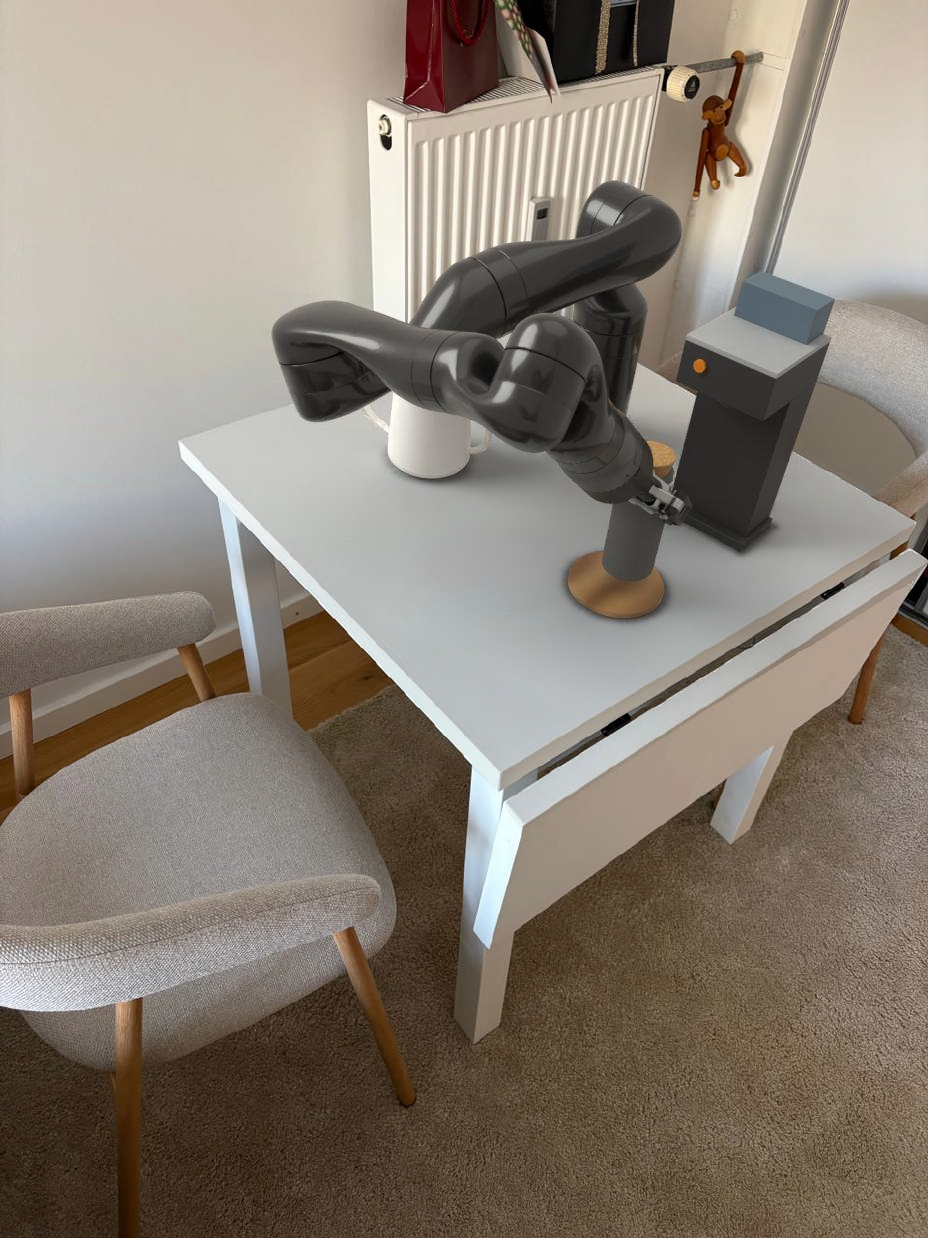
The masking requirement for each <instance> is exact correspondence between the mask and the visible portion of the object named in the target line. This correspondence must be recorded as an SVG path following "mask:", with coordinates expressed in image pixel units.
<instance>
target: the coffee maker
mask: <svg viewBox="0 0 928 1238" xmlns="http://www.w3.org/2000/svg"><path fill="white" fill-rule="evenodd" d="M739 290H740V291H739V294H738V298H737V303H736V305H735V306H734V307H733V308H731V309H729V310H727V311H726V312H725V311H724V313H722V314H719V316H717V317H715V318H712V319H711V320H710V321H708V322H706V323H705V324H702V325H701V326H698V327H697V328H695V329H694V330H692V331H690V332H689V333H687V334H686V337H685V340H684V345H683V349H682V354H681V357H680V362H679V366H678V371H677V374H676V378H675V382H676V383H679V384H680V385H683V386H685V387H688V388H689V389H692V390H694V391H696V395H695V399H694V404H693V406H692V411H691V415H690V419H689V423H688V427H687V431H686V435H685V438H684V442H683V446H682V449H681V454H680V458H679V462H678V466H677V470H676V473H675V477H674V480H673V481H674V482H673V485H672V488H671V490H672V493H673V491H674V490H676V491H677V490H680V491H681V490H682V491H684V492H686V493H685V494H687V495H688V497H689V499H690V501H691V504H692V508H691V510H689V512H688V513H687V515H686V517H685V518H684V520H683V521H682V522H684V523H686V524H687V525H690V526H691V527H693V528H695V529H697V530H698V531H700V532H703V533H705V534H706V535H708V536H710V537H712V538H714V539H716V540H717V541H719V542H721V543H723V544H725V545H727V546H728V547H731V548H732V549H734V550H736V551H737V552H742V551H743V550H744V549H745V548H746V547H747V546H749V545H750V544H751V543H752V542H753V541H755V540H756V539H757V538H758V537H760V535H762V534H763V533H764V532H765V531H766V530H767V529H769V528H771V525H772V524H773V523H772V522H773V520H774V519H773V517H771V514H772V512H773V511H772V510H773V508H774V506H775V502H776V500H777V496H778V493H779V491H780V489H781V485H782V482H783V479H784V476H785V473H786V470H787V468H788V465H789V462H790V460H791V456H792V454H793V451H794V447H795V444H796V442H797V439H798V436H799V433H800V430H801V428H802V424H803V422H804V419H805V416H806V413H807V410H808V408H809V404H810V401H811V399H812V396H813V393H814V391H815V390H814V389H815V387H816V384H817V381H818V379H819V375H820V373H821V370H822V367H823V364H824V361H825V358H826V355H827V352H828V350H829V347H830V344H831V341H832V336H830V335H828V334H826V333H825V330H826V328H827V324H828V322H829V319H830V316H831V313H832V310H833V307H834V304H835V301H836V298H834V297H831V296H830V295H829V296H828V295H826V294H823V293H821V292H818V291H815V290H813V289H811V288H808V287H805V286H802V285H800V284H798V283H794V282H792V281H789V280H787V279H784V278H781V277H779V276H777V275H774V274H772V273H769V272H766V271H764V270H763V271H762V270H759V271H758V272H756V273H754V274H753V275H751V276H749V277H747V278H746V279H745V278H744V279H743V280H742V283H741V286H740V289H739Z"/></svg>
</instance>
